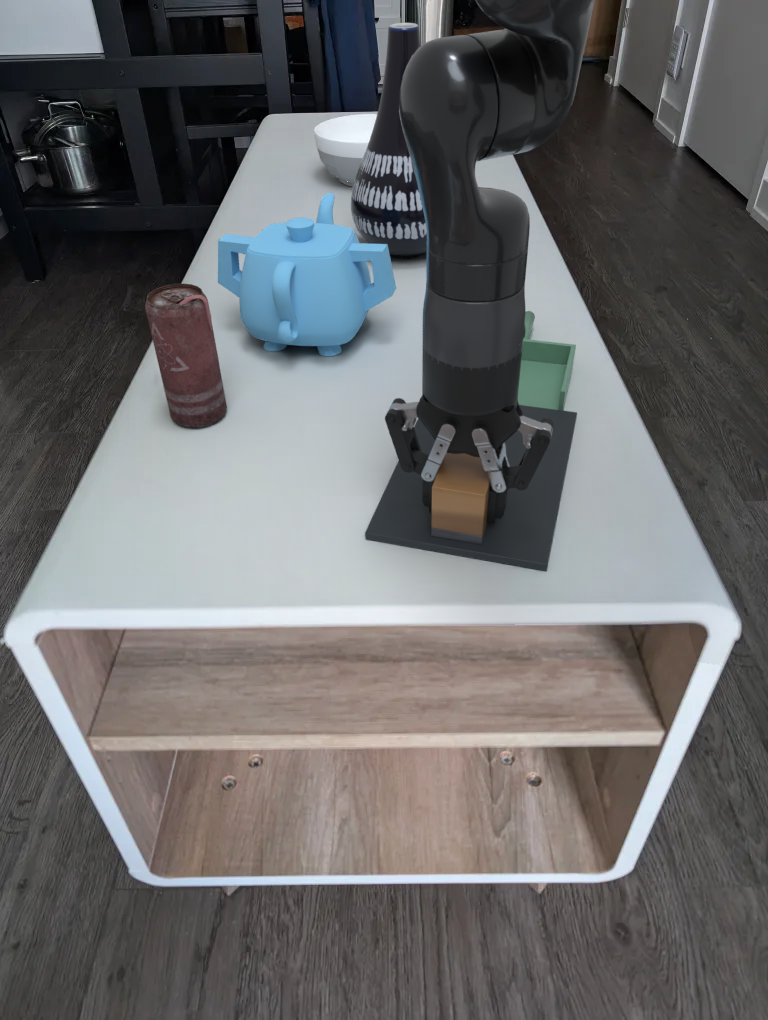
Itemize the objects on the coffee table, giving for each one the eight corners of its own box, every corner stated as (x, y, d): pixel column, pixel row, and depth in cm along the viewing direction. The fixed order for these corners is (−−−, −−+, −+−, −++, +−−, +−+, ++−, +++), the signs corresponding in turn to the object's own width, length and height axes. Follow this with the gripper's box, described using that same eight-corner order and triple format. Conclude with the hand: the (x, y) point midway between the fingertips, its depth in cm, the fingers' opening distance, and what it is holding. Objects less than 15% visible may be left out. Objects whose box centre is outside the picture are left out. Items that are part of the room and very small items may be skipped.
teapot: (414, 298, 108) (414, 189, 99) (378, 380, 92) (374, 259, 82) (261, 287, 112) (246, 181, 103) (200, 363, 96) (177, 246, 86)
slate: (546, 571, 67) (547, 564, 66) (365, 539, 71) (364, 532, 70) (576, 418, 84) (577, 411, 84) (429, 399, 88) (429, 392, 88)
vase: (477, 242, 122) (488, 19, 103) (423, 280, 112) (424, 41, 93) (390, 223, 129) (386, 11, 110) (332, 257, 119) (316, 30, 100)
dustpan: (562, 415, 85) (565, 391, 83) (443, 399, 88) (444, 376, 86) (580, 332, 99) (583, 310, 97) (477, 321, 102) (478, 300, 100)
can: (225, 429, 85) (202, 307, 76) (165, 430, 85) (136, 308, 76) (233, 398, 89) (213, 280, 80) (177, 400, 89) (150, 281, 80)
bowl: (307, 169, 152) (303, 120, 146) (401, 158, 156) (400, 109, 150) (332, 201, 138) (328, 147, 133) (434, 187, 142) (435, 135, 137)
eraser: (481, 545, 68) (485, 495, 65) (430, 536, 70) (431, 486, 66) (494, 502, 73) (498, 453, 69) (446, 494, 74) (447, 446, 70)
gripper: (366, 351, 59) (374, 526, 70) (562, 374, 55) (538, 554, 66) (394, 307, 64) (397, 475, 75) (574, 326, 61) (550, 499, 72)
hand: (464, 511), depth 71 cm, fingers closed on eraser, 4 cm apart
